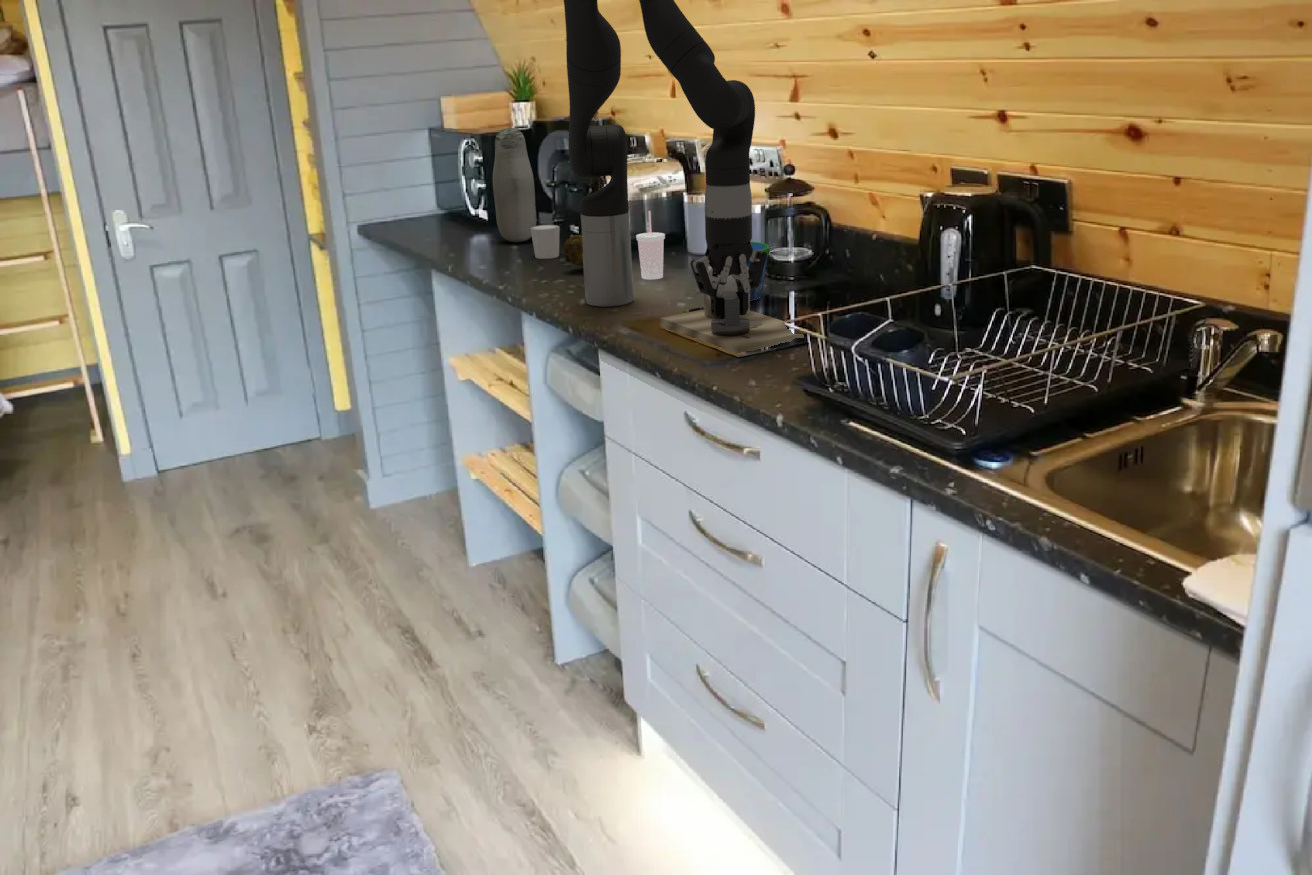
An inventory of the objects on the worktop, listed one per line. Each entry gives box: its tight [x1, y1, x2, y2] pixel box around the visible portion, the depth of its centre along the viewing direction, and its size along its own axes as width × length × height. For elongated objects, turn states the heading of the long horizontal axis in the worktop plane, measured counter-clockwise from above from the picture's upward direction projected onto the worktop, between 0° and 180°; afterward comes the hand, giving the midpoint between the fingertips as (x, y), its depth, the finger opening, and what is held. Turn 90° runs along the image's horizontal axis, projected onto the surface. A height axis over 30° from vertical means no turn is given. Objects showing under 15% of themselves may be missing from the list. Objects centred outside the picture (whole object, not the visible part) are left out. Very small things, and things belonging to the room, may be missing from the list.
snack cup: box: [747, 241, 771, 300], centre depth 213 cm, size 16×10×10 cm
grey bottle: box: [492, 127, 537, 243], centre depth 279 cm, size 10×10×28 cm
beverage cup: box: [635, 210, 666, 280], centre depth 234 cm, size 6×6×14 cm
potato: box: [562, 234, 583, 267], centre depth 246 cm, size 8×13×8 cm, turn 112°
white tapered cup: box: [530, 224, 560, 260], centre depth 262 cm, size 7×7×7 cm
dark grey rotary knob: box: [711, 291, 762, 335], centre depth 183 cm, size 8×6×6 cm
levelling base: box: [659, 265, 804, 353], centre depth 188 cm, size 24×15×11 cm, turn 31°
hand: (730, 315), depth 184 cm, fingers closed on dark grey rotary knob, 4 cm apart
